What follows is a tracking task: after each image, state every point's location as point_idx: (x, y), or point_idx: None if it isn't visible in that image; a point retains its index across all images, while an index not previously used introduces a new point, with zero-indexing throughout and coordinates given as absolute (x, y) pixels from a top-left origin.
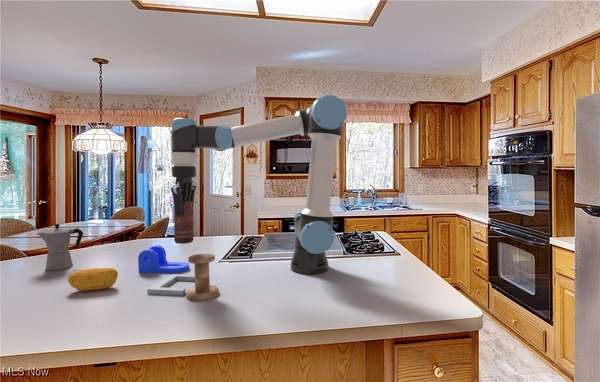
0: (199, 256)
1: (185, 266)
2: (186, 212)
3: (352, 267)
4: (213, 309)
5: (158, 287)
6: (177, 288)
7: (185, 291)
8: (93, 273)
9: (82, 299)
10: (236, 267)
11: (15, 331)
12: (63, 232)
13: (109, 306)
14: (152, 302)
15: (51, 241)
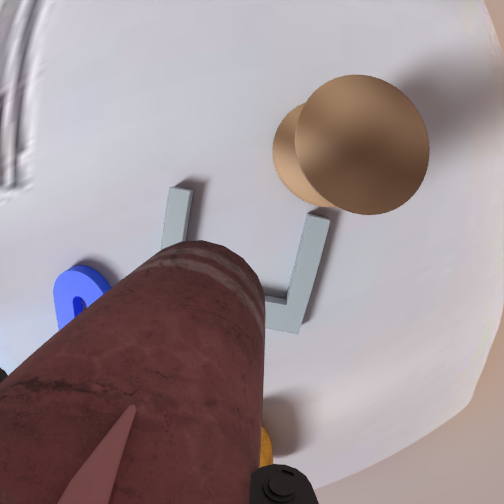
0: (358, 156)
1: (87, 276)
2: (227, 477)
3: None
4: (428, 111)
5: (287, 307)
6: (305, 243)
7: (308, 214)
8: (261, 466)
9: (307, 433)
10: (66, 106)
11: (415, 436)
12: None
13: (363, 374)
14: (364, 290)
15: None
